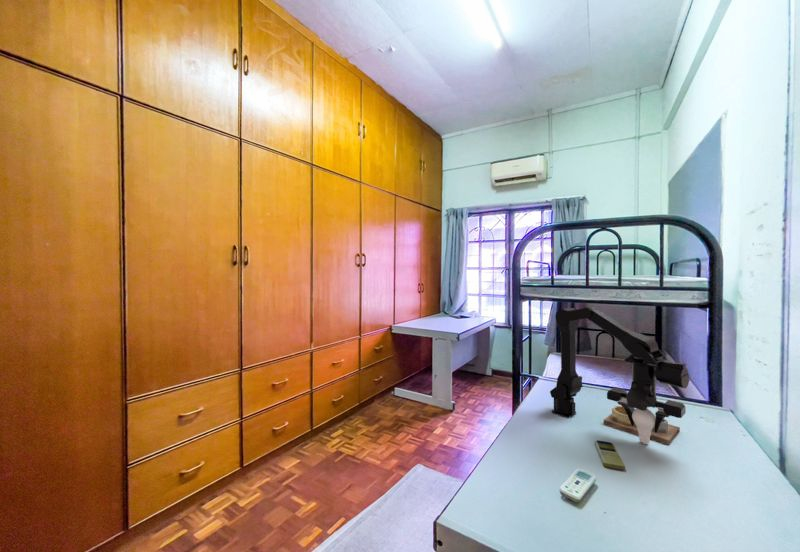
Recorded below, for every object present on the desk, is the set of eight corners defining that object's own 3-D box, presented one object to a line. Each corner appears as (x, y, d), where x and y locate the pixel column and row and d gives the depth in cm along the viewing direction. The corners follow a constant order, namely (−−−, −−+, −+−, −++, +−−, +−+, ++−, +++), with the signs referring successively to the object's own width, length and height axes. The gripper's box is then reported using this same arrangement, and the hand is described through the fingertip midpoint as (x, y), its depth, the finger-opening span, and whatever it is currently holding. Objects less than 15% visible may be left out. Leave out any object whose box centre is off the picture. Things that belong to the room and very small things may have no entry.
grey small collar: (644, 427, 107) (644, 418, 107) (649, 423, 110) (649, 414, 110) (664, 433, 102) (664, 424, 102) (669, 428, 106) (669, 419, 106)
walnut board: (603, 424, 113) (603, 419, 113) (617, 413, 121) (617, 409, 121) (668, 445, 99) (668, 440, 99) (679, 431, 107) (679, 427, 107)
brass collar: (609, 419, 113) (609, 410, 113) (618, 412, 119) (618, 404, 119) (639, 428, 106) (639, 419, 106) (648, 420, 112) (647, 412, 112)
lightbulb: (653, 440, 101) (653, 405, 101) (659, 450, 96) (659, 413, 96) (630, 436, 104) (629, 402, 104) (634, 446, 98) (634, 410, 98)
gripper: (599, 376, 102) (600, 425, 102) (675, 393, 87) (676, 450, 87) (613, 369, 109) (613, 415, 109) (685, 384, 94) (686, 437, 94)
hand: (644, 428), depth 100 cm, fingers closed on lightbulb, 6 cm apart
